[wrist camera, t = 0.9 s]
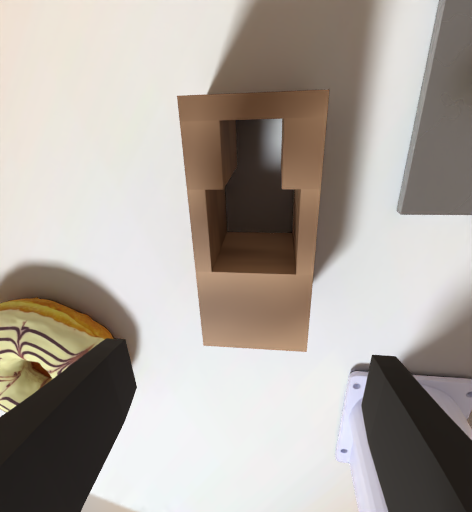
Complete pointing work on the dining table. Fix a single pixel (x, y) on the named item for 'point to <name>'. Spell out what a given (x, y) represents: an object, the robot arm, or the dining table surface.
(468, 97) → the hook plate
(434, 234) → the dining table surface
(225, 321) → the block
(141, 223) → the dining table surface
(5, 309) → the decorated donut
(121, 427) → the robot arm
